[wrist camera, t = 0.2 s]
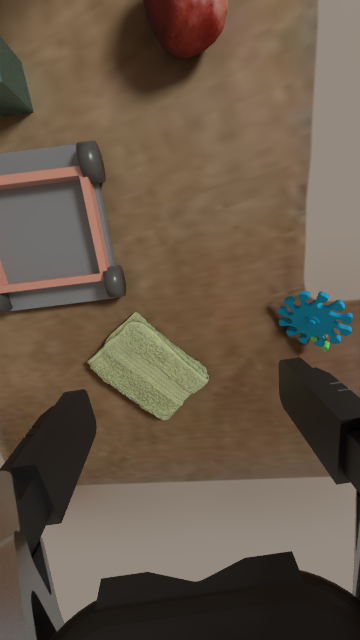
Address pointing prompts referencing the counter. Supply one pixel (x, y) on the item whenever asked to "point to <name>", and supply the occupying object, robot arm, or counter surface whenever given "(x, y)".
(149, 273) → the counter surface
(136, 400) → the washcloth
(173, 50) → the fruit
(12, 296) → the chassis
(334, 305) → the gear
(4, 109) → the teal glassy cube
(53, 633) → the robot arm
